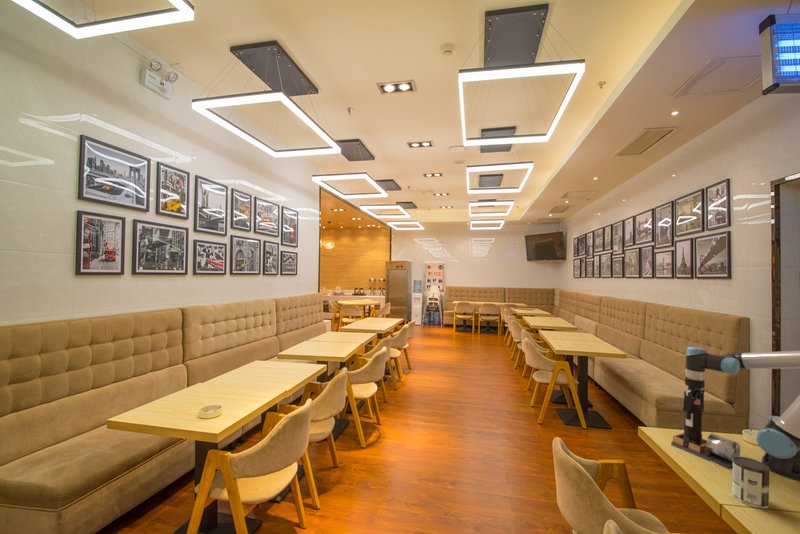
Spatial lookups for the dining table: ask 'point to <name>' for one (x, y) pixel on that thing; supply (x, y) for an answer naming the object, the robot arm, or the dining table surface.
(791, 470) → the robot arm
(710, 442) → the motor mount
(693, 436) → the vinegar
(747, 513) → the dining table surface
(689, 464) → the dining table surface
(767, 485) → the coffee can
